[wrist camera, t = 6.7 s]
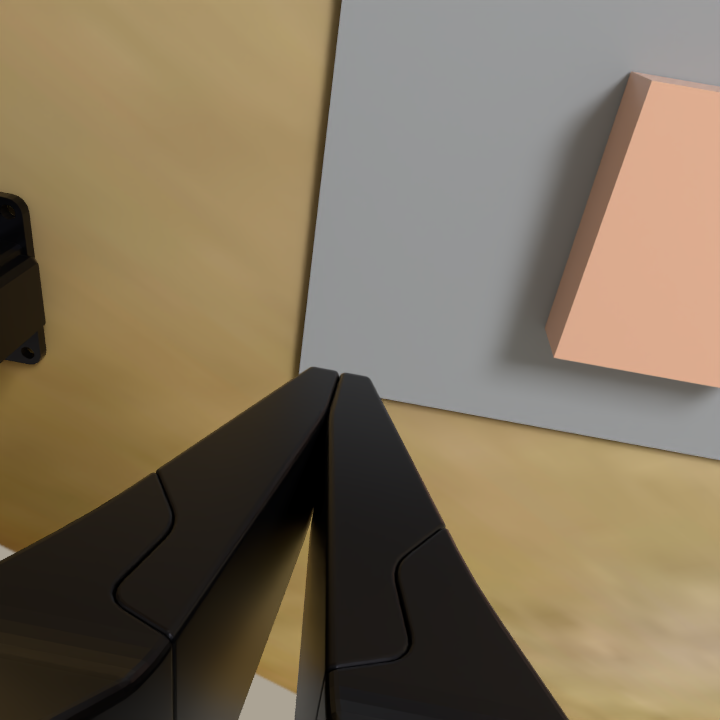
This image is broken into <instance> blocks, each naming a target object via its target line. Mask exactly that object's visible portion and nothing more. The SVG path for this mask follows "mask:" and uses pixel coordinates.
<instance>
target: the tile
mask: <svg viewBox="0 0 720 720" xmlns="http://www.w3.org/2000/svg"><path fill="white" fill-rule="evenodd" d="M545 331H546V334H547V337H548V340H549V344H550V347H551V350H552V353H553V357H554V358H558V359H563V360H569V361H574V362H580V363H585V364H591V365H596V366H602V367H607V368H613V369H619V370H624V371H630V372H635V373H641V374H646V375H652V376H657V377H663V378H668V379H674V380H679V381H685V382H690V383H696V384H701V385H707V386H712V387H718V388H720V87H719V86H714V85H708V84H702V83H696V82H691V81H685V80H679V79H673V78H667V77H662V76H656V75H650V74H644V73H639V72H633V71H631V73H630V76H629V79H628V82H627V85H626V88H625V91H624V94H623V97H622V100H621V103H620V106H619V109H618V112H617V114H616V117H615V120H614V123H613V126H612V129H611V132H610V135H609V138H608V141H607V144H606V147H605V150H604V153H603V156H602V159H601V162H600V165H599V168H598V171H597V174H596V177H595V180H594V183H593V186H592V189H591V192H590V195H589V198H588V201H587V204H586V207H585V210H584V213H583V216H582V219H581V222H580V225H579V228H578V230H577V233H576V236H575V239H574V242H573V245H572V248H571V251H570V254H569V257H568V260H567V263H566V266H565V269H564V272H563V275H562V278H561V281H560V284H559V287H558V290H557V293H556V296H555V299H554V302H553V305H552V308H551V311H550V314H549V317H548V320H547V323H546V326H545Z"/></svg>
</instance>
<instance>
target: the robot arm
mask: <svg viewBox="0 0 720 720" xmlns="http://www.w3.org/2000/svg"><path fill="white" fill-rule="evenodd" d="M7 205H9V206H11V207H12V208H13V209H14V211H15V216H14V215H12V214H11V213H10V212H9V211H8V208H7ZM44 325H45V314H44V306H43V298H42V290H41V281H40V273H39V265H38V263H37V261H36V260H35V256H34V248H33V239H32V231H31V223H30V215H29V210H28V206H27V204H26V203H25V202H24V200H23V199H21V198H20V197H19V196H16V195H14V194H9V193H4V192H0V363H1V362H2V361H3V360H9V361H15V362H20V363H25V364H36V363H38V362H39V361H40V360H41V359H42V358H43V357H44V356H45V355H46V344H45V336H44V328H43V326H44ZM27 347H28V348H30V349H31V350H32V351H33V352H34V353H31V352H30V351H29V350H28V348H27ZM312 514H313V516H312ZM311 517H312V523H311V532H310V540H309V552H308V564H307V577H306V589H305V601H304V613H303V625H302V637H301V649H300V661H299V673H298V685H297V697H296V709H295V720H569V719H568V718H567V716H566V715H565V713H564V712H563V710H562V709H561V707H560V706H559V705H558V703H557V702H556V700H555V699H554V697H553V696H552V694H551V693H550V691H549V690H548V689H547V687H546V686H545V684H544V683H543V681H542V680H541V678H540V677H539V675H538V674H537V672H536V671H535V670H534V668H533V667H532V665H531V664H530V662H529V661H528V659H527V658H526V656H525V655H524V654H523V652H522V651H521V649H520V648H519V646H518V645H517V643H516V642H515V640H514V639H513V638H512V636H511V635H510V633H509V632H508V630H507V629H506V627H505V626H504V624H503V623H502V621H501V620H500V618H499V617H498V615H497V614H496V612H495V611H494V609H493V608H492V606H491V605H490V603H489V601H488V600H487V598H486V597H485V595H484V594H483V592H482V591H481V589H480V587H479V586H478V584H477V583H476V581H475V579H474V577H473V576H472V574H471V572H470V570H469V568H468V567H467V565H466V563H465V561H464V560H463V558H462V556H461V554H460V552H459V551H458V549H457V547H456V545H455V543H454V541H453V539H452V537H451V535H450V533H449V531H448V530H447V529H446V528H445V523H444V521H443V520H442V518H441V516H440V514H439V512H438V510H437V508H436V506H435V504H434V502H433V500H432V498H431V496H430V494H429V492H428V490H427V488H426V486H425V484H424V482H423V481H422V479H421V477H420V475H419V473H418V471H417V469H416V467H415V465H414V463H413V461H412V459H411V457H410V455H409V453H408V451H407V449H406V447H405V445H404V443H403V442H402V440H401V438H400V436H399V434H398V432H397V430H396V428H395V426H394V424H393V422H392V420H391V418H390V416H389V414H388V412H387V410H386V408H385V406H384V404H383V403H382V401H381V399H380V397H379V395H378V393H377V391H376V389H375V387H374V385H373V383H372V381H371V379H370V378H369V377H367V376H363V375H357V374H352V373H342V374H341V375H340V377H339V373H338V372H337V371H335V370H330V369H325V368H319V367H310V368H308V369H306V370H305V371H303V372H302V373H300V374H299V375H297V376H296V377H295V378H293V379H292V380H290V381H289V382H287V383H286V384H284V385H283V386H281V387H280V388H278V389H277V390H275V391H274V392H272V393H271V394H269V395H268V396H266V397H265V398H263V399H262V400H260V401H259V402H257V403H256V404H254V405H253V406H251V407H250V408H248V409H247V410H245V411H244V412H242V413H241V414H239V415H238V416H236V417H235V418H233V419H232V420H230V421H229V422H227V423H226V424H224V425H223V426H221V427H220V428H218V429H217V430H215V431H214V432H212V433H211V434H209V435H208V436H206V437H205V438H203V439H202V440H200V441H199V442H197V443H196V444H194V445H193V446H192V447H190V448H189V449H187V450H186V451H184V452H183V453H181V454H180V455H178V456H177V457H175V458H174V459H172V460H171V461H169V462H168V463H166V464H165V465H163V466H162V467H160V468H159V469H157V471H156V473H151V474H149V475H148V476H146V477H145V478H143V479H142V480H140V481H139V482H137V483H136V484H134V485H133V486H131V487H130V488H128V489H127V490H125V491H123V492H122V493H120V494H119V495H117V496H116V497H114V498H112V499H111V500H109V501H108V502H106V503H104V504H103V505H101V506H100V507H98V508H96V509H95V510H93V511H91V512H89V513H88V514H86V515H84V516H82V517H81V518H79V519H77V520H75V521H73V522H72V523H70V524H68V525H66V526H64V527H63V528H61V529H59V530H57V531H56V532H54V533H52V534H50V535H48V536H46V537H44V538H43V539H41V540H39V541H37V542H35V543H33V544H31V545H29V546H28V547H26V548H24V549H22V550H20V551H18V552H16V553H14V554H13V555H11V556H9V557H7V558H5V559H3V560H1V561H0V720H238V718H239V715H240V713H241V710H242V707H243V705H244V702H245V699H246V697H247V694H248V691H249V689H250V686H251V683H252V680H253V678H254V675H255V672H256V670H257V667H258V664H259V662H260V659H261V656H262V653H263V651H264V648H265V645H266V643H267V640H268V637H269V634H270V632H271V629H272V626H273V624H274V621H275V618H276V615H277V613H278V610H279V607H280V605H281V602H282V599H283V597H284V594H285V591H286V588H287V586H288V583H289V580H290V578H291V575H292V572H293V569H294V567H295V564H296V561H297V559H298V556H299V553H300V550H301V548H302V545H303V542H304V540H305V537H306V534H307V531H308V528H309V525H310V521H311Z"/></svg>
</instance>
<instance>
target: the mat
mask: <svg viewBox="0 0 720 720" xmlns="http://www.w3.org/2000/svg"><path fill="white" fill-rule="evenodd" d="M631 71H633V72H639V73H644V74H650V75H656V76H662V77H667V78H673V79H679V80H685V81H691V82H696V83H702V84H708V85H714V86H719V87H720V0H342V5H341V13H340V22H339V31H338V39H337V48H336V57H335V65H334V74H333V83H332V91H331V100H330V109H329V117H328V126H327V135H326V143H325V152H324V161H323V169H322V178H321V187H320V195H319V204H318V213H317V221H316V230H315V239H314V247H313V256H312V265H311V273H310V282H309V291H308V299H307V308H306V317H305V325H304V334H303V343H302V351H301V360H300V369H299V374H300V373H302V372H303V371H305V370H306V369H308V368H310V367H319V368H325V369H330V370H335V371H337V372H338V373H339V377H340V375H341V374H342V373H352V374H357V375H363V376H367V377H369V378H370V379H371V381H372V383H373V385H374V387H375V389H376V391H377V393H378V395H379V397H380V398H384V399H389V400H395V401H400V402H406V403H411V404H417V405H422V406H428V407H433V408H439V409H444V410H449V411H455V412H460V413H466V414H471V415H477V416H482V417H488V418H493V419H499V420H504V421H509V422H515V423H520V424H526V425H531V426H537V427H542V428H548V429H553V430H559V431H564V432H569V433H575V434H580V435H586V436H591V437H597V438H602V439H608V440H613V441H619V442H624V443H629V444H635V445H640V446H646V447H651V448H657V449H662V450H668V451H673V452H679V453H684V454H689V455H695V456H700V457H706V458H711V459H717V460H720V388H718V387H712V386H707V385H701V384H696V383H690V382H685V381H679V380H674V379H668V378H663V377H657V376H652V375H646V374H641V373H635V372H630V371H624V370H619V369H613V368H607V367H602V366H596V365H591V364H585V363H580V362H574V361H569V360H563V359H558V358H554V357H553V353H552V350H551V347H550V344H549V340H548V337H547V334H546V331H545V326H546V323H547V320H548V317H549V314H550V311H551V308H552V305H553V302H554V299H555V296H556V293H557V290H558V287H559V284H560V281H561V278H562V275H563V272H564V269H565V266H566V263H567V260H568V257H569V254H570V251H571V248H572V245H573V242H574V239H575V236H576V233H577V230H578V228H579V225H580V222H581V219H582V216H583V213H584V210H585V207H586V204H587V201H588V198H589V195H590V192H591V189H592V186H593V183H594V180H595V177H596V174H597V171H598V168H599V165H600V162H601V159H602V156H603V153H604V150H605V147H606V144H607V141H608V138H609V135H610V132H611V129H612V126H613V123H614V120H615V117H616V114H617V112H618V109H619V106H620V103H621V100H622V97H623V94H624V91H625V88H626V85H627V82H628V79H629V76H630V73H631Z"/></svg>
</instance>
